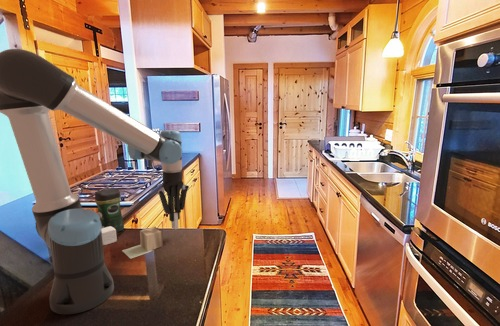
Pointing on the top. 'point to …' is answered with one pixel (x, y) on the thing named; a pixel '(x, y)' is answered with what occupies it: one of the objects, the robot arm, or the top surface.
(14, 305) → the top surface
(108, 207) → the coffee jar
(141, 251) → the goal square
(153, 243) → the maple block
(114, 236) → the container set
